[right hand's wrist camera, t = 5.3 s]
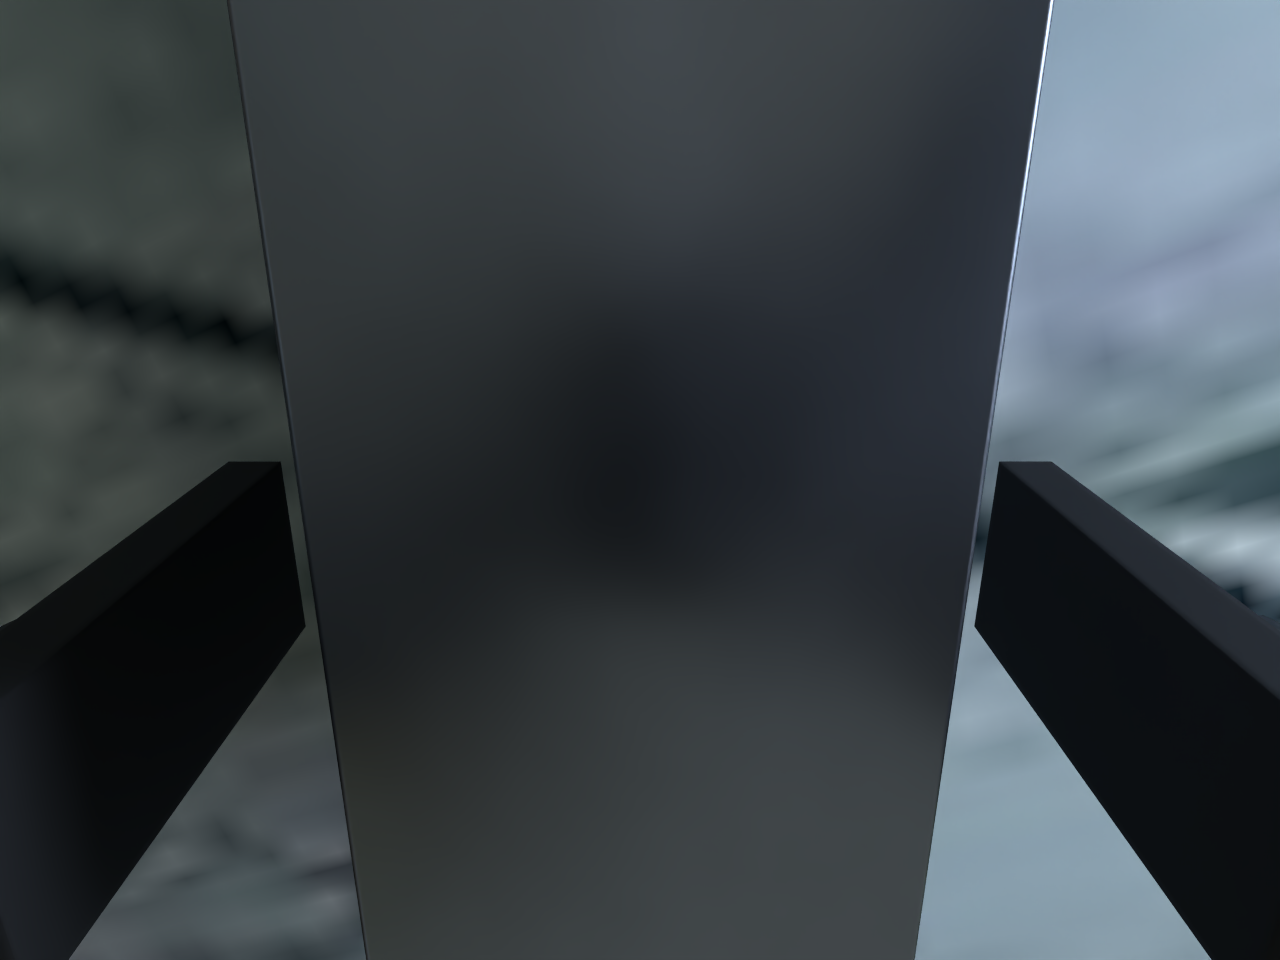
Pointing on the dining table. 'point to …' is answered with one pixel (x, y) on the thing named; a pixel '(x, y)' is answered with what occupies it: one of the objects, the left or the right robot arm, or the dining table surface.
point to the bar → (640, 447)
